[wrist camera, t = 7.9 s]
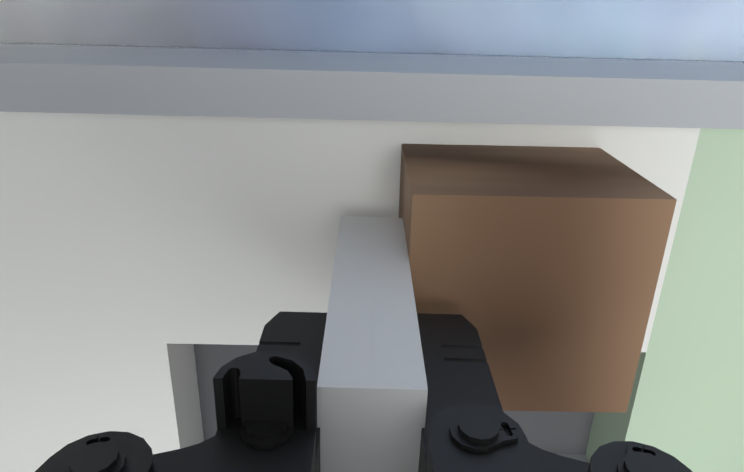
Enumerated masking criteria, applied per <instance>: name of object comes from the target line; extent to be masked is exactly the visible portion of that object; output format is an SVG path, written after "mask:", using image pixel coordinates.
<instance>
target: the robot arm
mask: <svg viewBox="0 0 744 472" xmlns="http://www.w3.org/2000/svg"><path fill="white" fill-rule="evenodd" d="M486 360H487V359H486V356H485V353H484V350H483V349H482V343H481V340H480V337H479V334H478V331H477V329H476V328H475V327H474V326H473V325H472V324H471V323H470V322H469V321H468V320H467V319H466V318H465V317H464V316H463V315H462V314H426V313H417V311H416V304H415V298H414V291H413V284H412V277H411V270H410V263H409V256H408V250H407V243H406V237H405V230H404V224H403V218H386V217H352V216H341V217H340V224H339V232H338V239H337V246H336V253H335V260H334V267H333V275H332V282H331V289H330V296H329V303H328V311H327V313H320V312H283V311H280V312H279V313H278V314H277V315H275V316H274V317H273V318H272V319H271V320H270V321H269V322H268V323H266V324H265V326H264V329H263V332H262V335H261V338H260V341H259V345H258V347H257V350H256V352H253V353H249V354H246V355H243V356H240V357H237V358H235V359H233V360H231V361H230V362H228V363H227V364H225V365H223V366H222V367H221V368H220V369H219V371H218V372H217V373H216V375H215V376H214V377H213V386H214V398H215V410H216V421H217V431H216V434H215V436H213V437H211V438H209V439H207V440H205V441H203V442H201V443H199V444H196V445H192V446H189V447H185V448H181V449H177V450H172V451H167V452H163V453H158V454H152V448H151V447H150V446H149V445H148V443H147V442H146V441H145V439H144V438H142V437H139V436H137V435H135V434H132V433H130V432H118V431H107V432H102V433H97V434H92V435H88V436H85V437H83V438H81V439H79V440H76V441H74V442H72V443H69V444H67V445H66V446H65V447H63V448H62V449H60V450H59V451H58V452H56V453H55V454H54V455H52V456H51V457H50V458H49V459H47V460H46V461H45V462H44V463H43V464H42V465H41V466H40V467H39V468H38V469H37V470H36V471H35V472H692V471H691V470H690V469H689V468H688V467H687V466H685V465H684V464H683V463H681V462H680V461H679V460H678V459H676V458H675V457H674V456H672V455H670V454H668V453H666V452H664V451H662V450H660V449H658V448H656V447H653V446H650V445H646V444H642V443H638V442H634V441H613V442H610V443H607V444H605V445H602V446H599V447H598V449H597V450H596V451H595V452H594V454H593V455H592V456H591V459H590V463H587V462H584V461H580V460H576V459H572V458H568V457H564V456H561V455H557V454H554V453H551V452H548V451H545V450H542V449H540V448H538V447H537V446H535V445H533V444H531V443H529V442H528V440H527V437H526V435H525V433H524V432H523V430H522V429H521V427H520V425H519V424H518V423H517V422H516V421H514V420H513V419H512V418H510V417H509V416H508V415H507V414H505V413H504V412H503V409H502V406H501V403H500V400H499V396H498V393H497V390H496V387H495V384H494V381H493V378H492V375H491V371H490V368H489V365H488V363H487V361H486Z"/></svg>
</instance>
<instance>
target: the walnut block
mask: <svg viewBox="0 0 744 472" xmlns="http://www.w3.org/2000/svg"><path fill="white" fill-rule="evenodd" d="M676 201H677V199H675V198H674V197H672V196H671V195H669V194H668V193H666V192H665V191H663V190H662V189H660V188H659V187H657V186H656V185H655V184H653V183H652V182H650V181H649V180H647V179H646V178H644V177H643V176H641V175H640V174H638V173H637V172H635V171H634V170H632V169H631V168H629V167H628V166H626V165H625V164H623V163H622V162H620V161H619V160H617V159H616V158H614V157H613V156H611V155H610V154H608V153H607V152H605V151H604V150H602V149H601V148H594V147H545V146H495V145H446V144H402V147H401V171H400V195H399V218H403V224H404V230H405V237H406V243H407V250H408V256H409V263H410V270H411V277H412V284H413V291H414V298H415V304H416V311H417V313H426V314H462V315H463V316H464V317H465V318H466V319H467V320H468V321H469V322H470V323H471V324H472V325H473V326H474V327H475V328H476V329H477V331H478V334H479V337H480V340H481V343H482V349H483V350H484V353H485V356H486V359H487V360H486V361H487V363H488V365H489V368H490V371H491V375H492V378H493V381H494V384H495V387H496V390H497V393H498V396H499V400H500V403H501V406H502V409H503V411H552V412H621V413H627V408H628V404H629V400H630V396H631V392H632V387H633V383H634V379H635V375H636V370H637V366H638V362H639V358H640V354H641V349H642V345H643V341H644V337H645V332H646V328H647V324H648V320H649V315H650V311H651V307H652V303H653V299H654V294H655V290H656V286H657V282H658V277H659V273H660V269H661V265H662V261H663V256H664V252H665V248H666V244H667V239H668V235H669V231H670V227H671V222H672V218H673V214H674V210H675V206H676Z"/></svg>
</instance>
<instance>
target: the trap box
mask: <svg viewBox="0 0 744 472" xmlns="http://www.w3.org/2000/svg"><path fill="white" fill-rule="evenodd" d="M402 144H446V145H495V146H545V147H594V148H601V149H602V150H604V151H605V152H607V153H608V154H610V155H611V156H613V157H614V158H616V159H617V160H619V161H620V162H622V163H623V164H625V165H626V166H628V167H629V168H631V169H632V170H634V171H635V172H637V173H638V174H640V175H641V176H643V177H644V178H646V179H647V180H649V181H650V182H652V183H653V184H655V185H656V186H657V187H659V188H660V189H662V190H663V191H665V192H666V193H668V194H669V195H671V196H672V197H674V198H675V199H677V201H676V206H675V210H674V214H673V218H672V222H671V227H670V231H669V235H668V239H667V244H666V248H665V252H664V256H663V261H662V265H661V269H660V273H659V277H658V282H657V286H656V290H655V294H654V299H653V303H652V307H651V311H650V315H649V320H648V324H647V328H646V332H645V337H644V341H643V345H642V349H641V354H640V358H639V362H638V366H637V370H636V375H635V379H634V383H633V387H632V392H631V396H630V400H629V404H628V408H627V413H621V412H552V411H503V412H504V413H505V414H507V415H508V416H509V417H510V418H512V419H513V420H514V421H516V422H517V423H518V424H519V425H520V427H521V429H522V430H523V432H524V433H525V435H526V437H527V440H528V442H529V443H531V444H533V445H535V446H537V447H538V448H540V449H542V450H545V451H548V452H551V453H554V454H557V455H561V456H564V457H568V458H572V459H576V460H580V461H584V462H587V463H590V459H591V456H592V455H593V454H594V452H595V451H596V450H597V449H598V447H599V446H602V445H605V444H607V443H610V442H613V441H634V442H638V443H642V444H646V445H650V446H653V447H656V448H658V449H660V450H662V451H664V452H666V453H668V454H670V455H672V456H674V457H675V458H676V459H678V460H679V461H680V462H681V463H683V464H684V465H685V466H687V467H688V468H689V469H690V470H691V471H692V472H744V62H731V61H692V60H653V59H613V58H574V57H535V56H496V55H457V54H417V53H378V52H339V51H300V50H261V49H221V48H182V47H143V46H104V45H65V44H25V43H0V472H35V471H36V470H37V469H38V468H39V467H40V466H41V465H42V464H43V463H44V462H45V461H46V460H47V459H49V458H50V457H51V456H52V455H54V454H55V453H56V452H58V451H59V450H60V449H62V448H63V447H65V446H66V445H67V444H69V443H72V442H74V441H76V440H79V439H81V438H83V437H85V436H88V435H92V434H97V433H102V432H107V431H118V432H130V433H132V434H135V435H137V436H139V437H142V438H144V439H145V441H146V442H147V443H148V445H149V446H150V447H151V448H152V454H158V453H163V452H167V451H172V450H177V449H181V448H185V447H189V446H192V445H196V444H199V443H201V442H203V441H205V440H207V439H209V438H211V437H213V436H215V434H216V431H217V421H216V410H215V398H214V386H213V377H214V376H215V375H216V373H217V372H218V371H219V369H220V368H221V367H222V366H223V365H225V364H227V363H228V362H230V361H231V360H233V359H235V358H237V357H240V356H243V355H246V354H249V353H253V352H256V350H257V347H258V345H259V341H260V338H261V335H262V332H263V329H264V326H265V324H266V323H268V322H269V321H270V320H271V319H272V318H273V317H274V316H275V315H277V314H278V313H279V312H280V311H283V312H320V313H327V311H328V303H329V296H330V289H331V282H332V275H333V267H334V260H335V253H336V246H337V239H338V232H339V224H340V217H341V216H352V217H386V218H399V195H400V171H401V147H402Z"/></svg>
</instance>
